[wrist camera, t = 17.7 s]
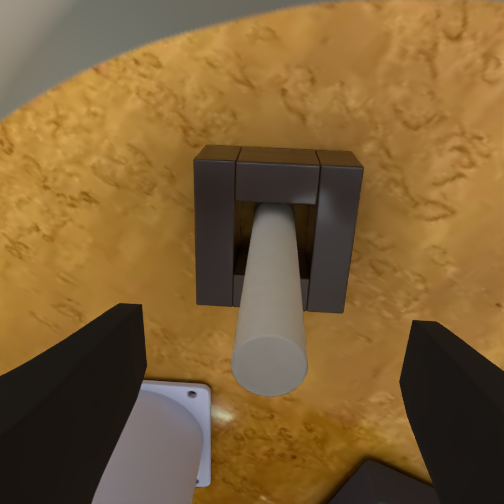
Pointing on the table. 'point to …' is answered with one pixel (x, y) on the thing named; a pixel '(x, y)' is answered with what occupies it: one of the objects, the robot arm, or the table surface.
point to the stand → (275, 191)
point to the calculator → (384, 488)
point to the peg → (271, 308)
